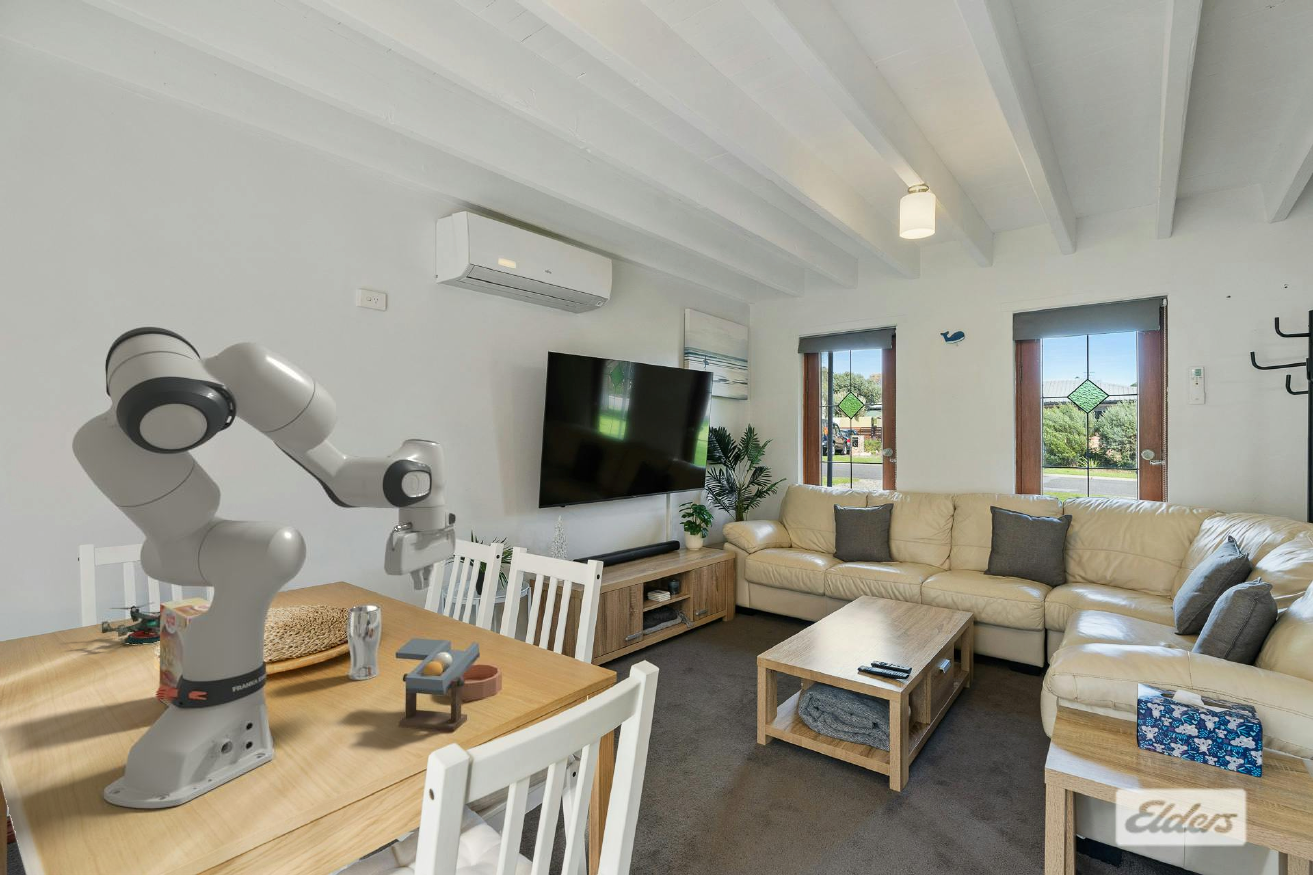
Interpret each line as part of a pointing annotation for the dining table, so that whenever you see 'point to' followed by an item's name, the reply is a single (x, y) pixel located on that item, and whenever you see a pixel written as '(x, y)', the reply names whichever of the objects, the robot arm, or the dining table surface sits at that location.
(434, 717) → the trough stand
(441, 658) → the cream ball
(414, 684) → the tipping trough
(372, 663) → the beer glass
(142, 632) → the toy helicopter
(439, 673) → the orange ball
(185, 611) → the coffeecake box
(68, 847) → the dining table surface
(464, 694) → the round terracotta tray
